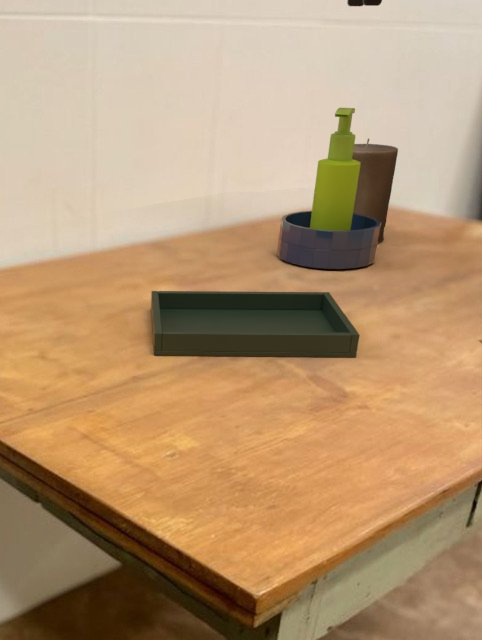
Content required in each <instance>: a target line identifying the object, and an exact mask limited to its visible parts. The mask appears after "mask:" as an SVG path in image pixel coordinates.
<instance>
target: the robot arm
mask: <svg viewBox="0 0 482 640" xmlns="http://www.w3.org/2000/svg"><path fill="white" fill-rule="evenodd" d="M346 2H347V5H348V6H349V7H363V6H364V7H365V6H366V7H367V6H371V7H377V6H380V5H381V4H382V2H383V0H347V1H346Z"/></svg>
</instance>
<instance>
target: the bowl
mask: <svg viewBox="0 0 482 640" xmlns="http://www.w3.org/2000/svg"><path fill="white" fill-rule="evenodd" d="M311 214H312V210H303V211H295V212H290V213H287V214H284V215H282V217H281V218H280V224H279V235H278V243H277V250H276V251H277V252H276V255H277V256H278V258H279V259H280V260H282V261H284V262H287V263H290V264H293V265H296V266H301V267H304V268H311V269H318V270H319V269H320V270H348V269H349V270H350V269H359V268H362V267H368V266H369V265H372V264H374V263H375V260H376V256H377V249H378V244H379V243H378V238H379V233H380V227H381V222H380V221H379V220H377V219H375V218H373V217H370V216H366V215H361V214H357V213H353V216H352V223H351V229H350V230H320V229H312V228H310V222H311Z"/></svg>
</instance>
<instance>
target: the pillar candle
mask: <svg viewBox="0 0 482 640" xmlns="http://www.w3.org/2000/svg"><path fill="white" fill-rule="evenodd" d="M369 142H370V138H367V141H366V143H354V150H353V156H352V159H353V160H356V161H359V162H360V163H361V164H360V171H359V177H358V184H357V190H356V197H355V203H354V210H353V213H357V214H361V215H366V216H370V217H373V218H375V219H377V220H379V221H380V222H381V227H380V233H379V238H378V244H380V243H382V242H383V241H384V237H385V236H384V234H385V228H386V224H387V217H388V211H389V206H390V200H391V195H392V189H393V188H392V187H393V182H394V177H395V172H396V166H397V159H398V153H399V148H398V147H396V146H393V145H388V144H377V143H369Z"/></svg>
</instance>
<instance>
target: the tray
mask: <svg viewBox="0 0 482 640" xmlns="http://www.w3.org/2000/svg"><path fill="white" fill-rule="evenodd" d="M150 292H151V295H150V296H151V297H150V298H151V299H150V316H151V317H150V318H151V331H152V345H153V355H154V356H157V357H158V356H161V357H162V356H165V357H166V356H167V357H168V356H173V357H179V356H180V357H268V358H269V357H270V358H271V357H272V358H274V357H276V358H277V357H278V358H284V357H285V358H357V353H358V348H359V342H360V334H359V332H358V330H357V329H356V328H355V326H354V325H353V323H352V322H351V321H350V320H349V318H348V317H347V315H346V314H345V313H344V311H343V309H342V308H341V307H340V306H339V304H338V303H337V301H336V299H334V297H333V295H332V294H331V292H328V291H323V292H322V291H227V290H226V291H218V290H216V291H215V290H214V291H211V290H210V291H208V290H207V291H205V290H204V291H203V290H191V291H190V290H151V291H150Z"/></svg>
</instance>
